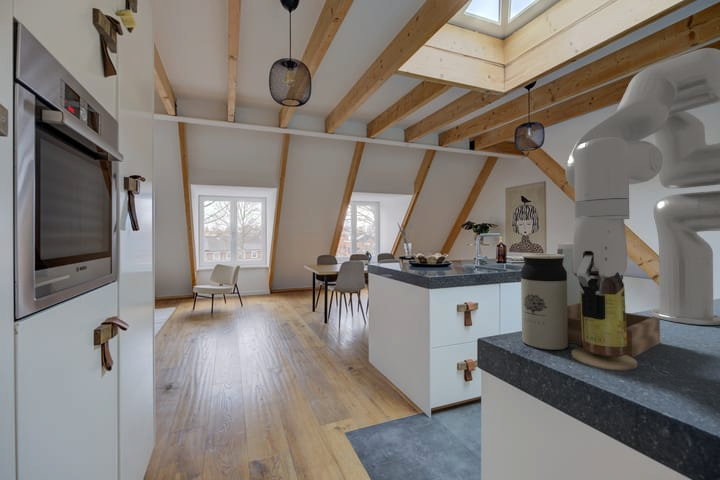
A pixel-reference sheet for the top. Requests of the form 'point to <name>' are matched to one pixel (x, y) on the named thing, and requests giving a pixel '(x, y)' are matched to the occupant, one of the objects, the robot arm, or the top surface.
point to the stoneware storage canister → (544, 301)
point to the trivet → (604, 360)
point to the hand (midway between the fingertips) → (602, 313)
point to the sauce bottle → (607, 322)
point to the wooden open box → (638, 329)
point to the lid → (570, 274)
